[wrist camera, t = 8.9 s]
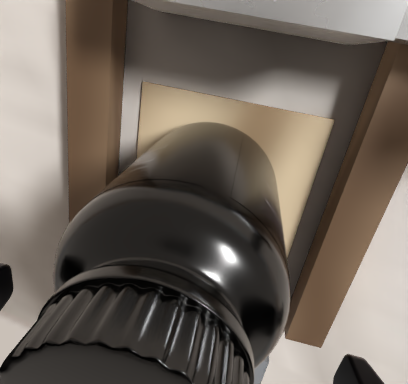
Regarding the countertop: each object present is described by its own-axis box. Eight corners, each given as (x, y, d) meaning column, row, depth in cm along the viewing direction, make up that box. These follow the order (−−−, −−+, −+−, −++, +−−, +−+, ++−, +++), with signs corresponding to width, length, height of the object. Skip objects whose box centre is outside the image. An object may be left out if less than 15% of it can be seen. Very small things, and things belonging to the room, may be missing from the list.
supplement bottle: (160, 243, 18) (12, 511, 8) (135, 126, 16) (-142, 280, 5) (281, 240, 17) (310, 566, 6) (274, 111, 14) (304, 281, 4)
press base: (739, -67, 10) (1128, -165, 6) (437, 358, 18) (493, 456, 14) (85, -154, 12) (-23, -280, 7) (83, 266, 20) (31, 326, 16)
